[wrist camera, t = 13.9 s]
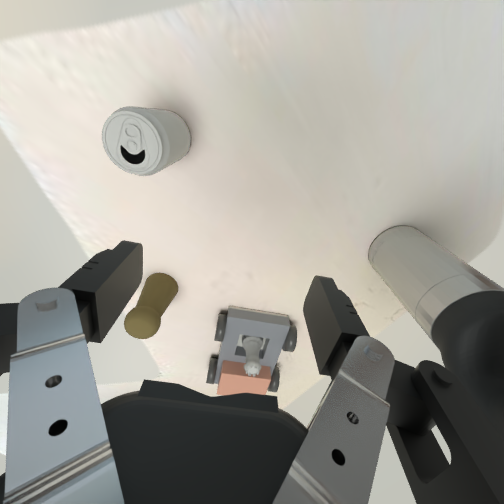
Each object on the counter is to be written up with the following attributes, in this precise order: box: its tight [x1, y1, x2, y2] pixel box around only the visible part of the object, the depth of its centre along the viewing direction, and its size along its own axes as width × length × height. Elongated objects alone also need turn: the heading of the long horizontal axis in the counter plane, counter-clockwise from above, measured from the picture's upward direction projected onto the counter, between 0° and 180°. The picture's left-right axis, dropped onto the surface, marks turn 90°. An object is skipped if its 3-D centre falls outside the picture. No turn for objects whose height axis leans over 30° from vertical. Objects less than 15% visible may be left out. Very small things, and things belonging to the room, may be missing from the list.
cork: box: [124, 273, 178, 339], centre depth 42 cm, size 6×6×11 cm
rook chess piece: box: [242, 335, 263, 377], centre depth 48 cm, size 4×4×8 cm
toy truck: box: [206, 306, 297, 395], centre depth 51 cm, size 15×20×6 cm
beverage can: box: [102, 107, 191, 176], centre depth 29 cm, size 6×6×12 cm
